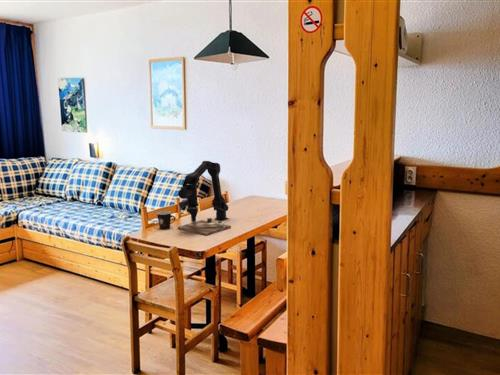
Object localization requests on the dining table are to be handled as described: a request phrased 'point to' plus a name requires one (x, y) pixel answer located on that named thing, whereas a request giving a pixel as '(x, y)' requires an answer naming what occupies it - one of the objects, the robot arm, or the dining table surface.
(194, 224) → the lever
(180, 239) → the dining table surface
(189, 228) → the nutcracker board
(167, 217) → the coffee mug
